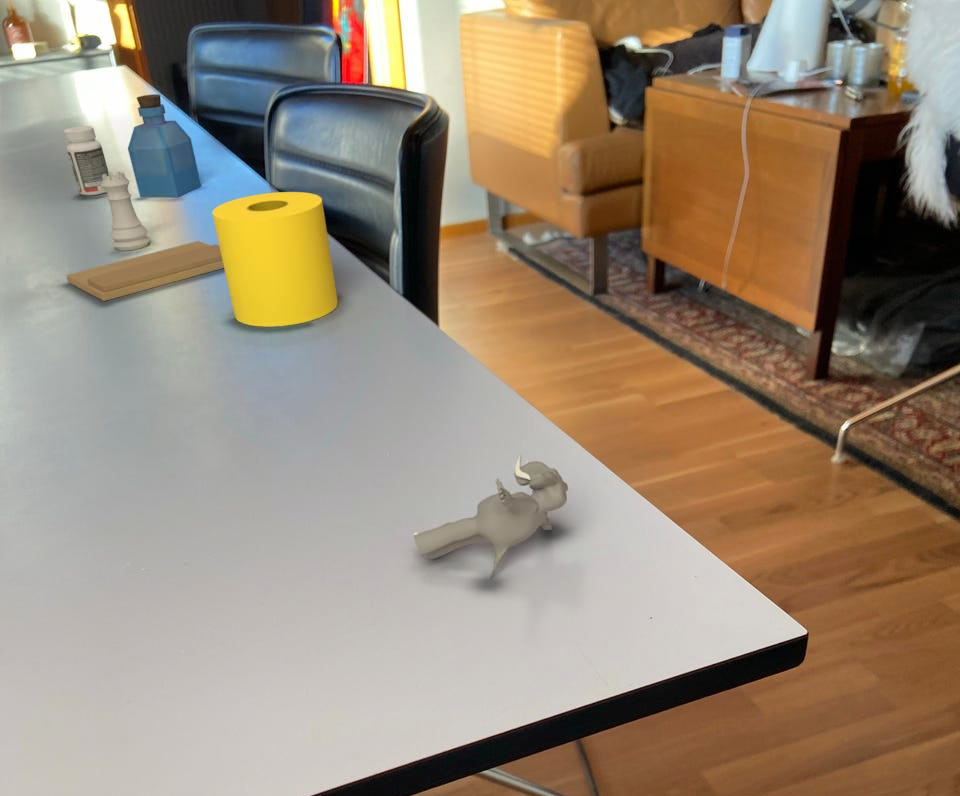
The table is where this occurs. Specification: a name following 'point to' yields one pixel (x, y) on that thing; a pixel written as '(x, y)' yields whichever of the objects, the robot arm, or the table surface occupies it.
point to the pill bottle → (86, 159)
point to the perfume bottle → (161, 153)
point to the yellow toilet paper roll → (276, 258)
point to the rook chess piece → (123, 214)
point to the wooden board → (148, 270)
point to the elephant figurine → (502, 515)
